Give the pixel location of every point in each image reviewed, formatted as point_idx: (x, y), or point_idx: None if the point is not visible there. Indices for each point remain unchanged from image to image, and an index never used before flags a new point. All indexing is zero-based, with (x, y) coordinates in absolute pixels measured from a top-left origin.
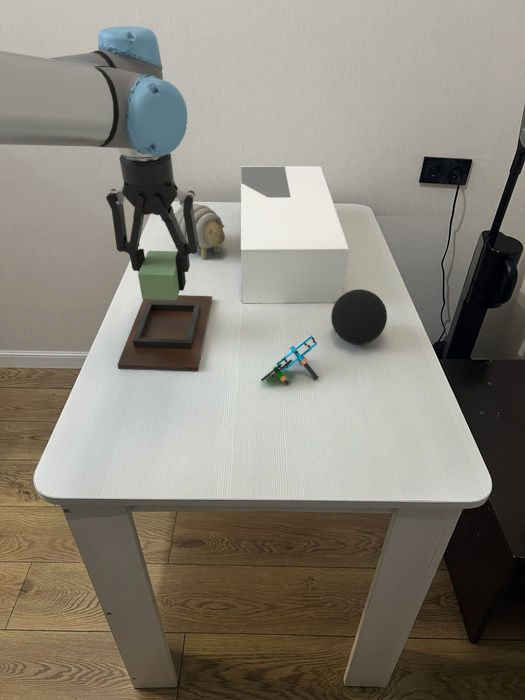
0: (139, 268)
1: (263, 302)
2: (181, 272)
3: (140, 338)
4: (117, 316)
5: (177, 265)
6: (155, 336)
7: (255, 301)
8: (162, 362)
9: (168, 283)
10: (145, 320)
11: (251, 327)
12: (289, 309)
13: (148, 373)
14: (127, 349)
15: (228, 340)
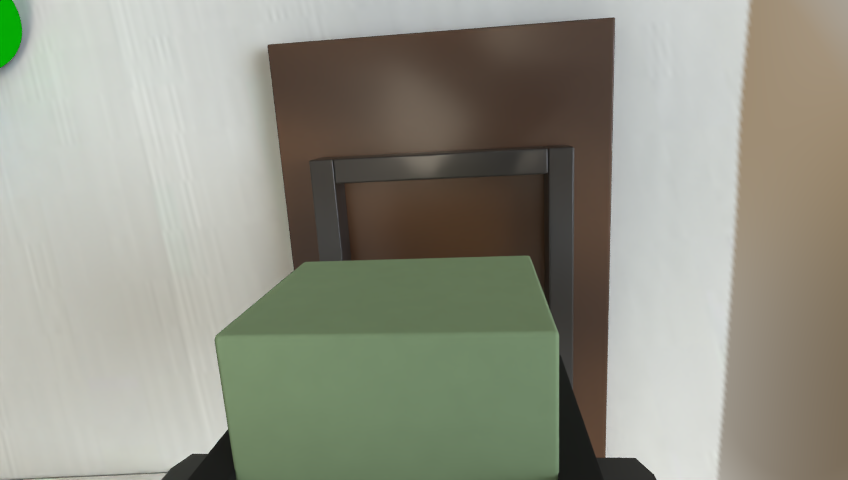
0: (577, 456)
1: (134, 476)
2: (225, 437)
3: (541, 168)
4: (696, 368)
5: (215, 477)
6: (490, 227)
7: (159, 477)
8: (417, 56)
9: (302, 304)
10: (549, 301)
11: (144, 331)
12: (40, 441)
13: (471, 9)
14: (593, 127)
15: (208, 248)
